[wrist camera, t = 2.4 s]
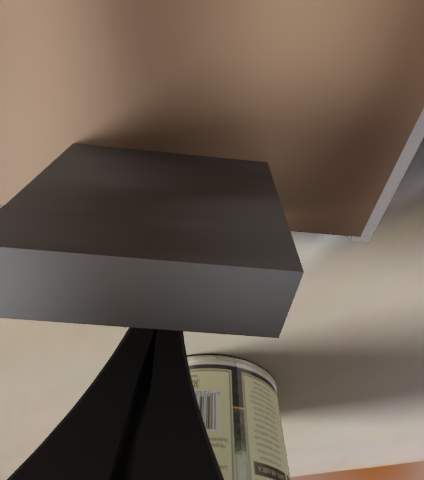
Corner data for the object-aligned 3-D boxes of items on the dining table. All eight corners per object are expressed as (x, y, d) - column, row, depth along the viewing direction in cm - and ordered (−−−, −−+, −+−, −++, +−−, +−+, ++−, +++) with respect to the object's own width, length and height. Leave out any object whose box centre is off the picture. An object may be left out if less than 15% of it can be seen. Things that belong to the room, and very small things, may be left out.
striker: (451, -52, 8) (1012, -206, 2) (342, 208, 13) (439, 362, 7) (-105, -127, 7) (-1177, -588, 2) (2, 177, 12) (-183, 319, 6)
